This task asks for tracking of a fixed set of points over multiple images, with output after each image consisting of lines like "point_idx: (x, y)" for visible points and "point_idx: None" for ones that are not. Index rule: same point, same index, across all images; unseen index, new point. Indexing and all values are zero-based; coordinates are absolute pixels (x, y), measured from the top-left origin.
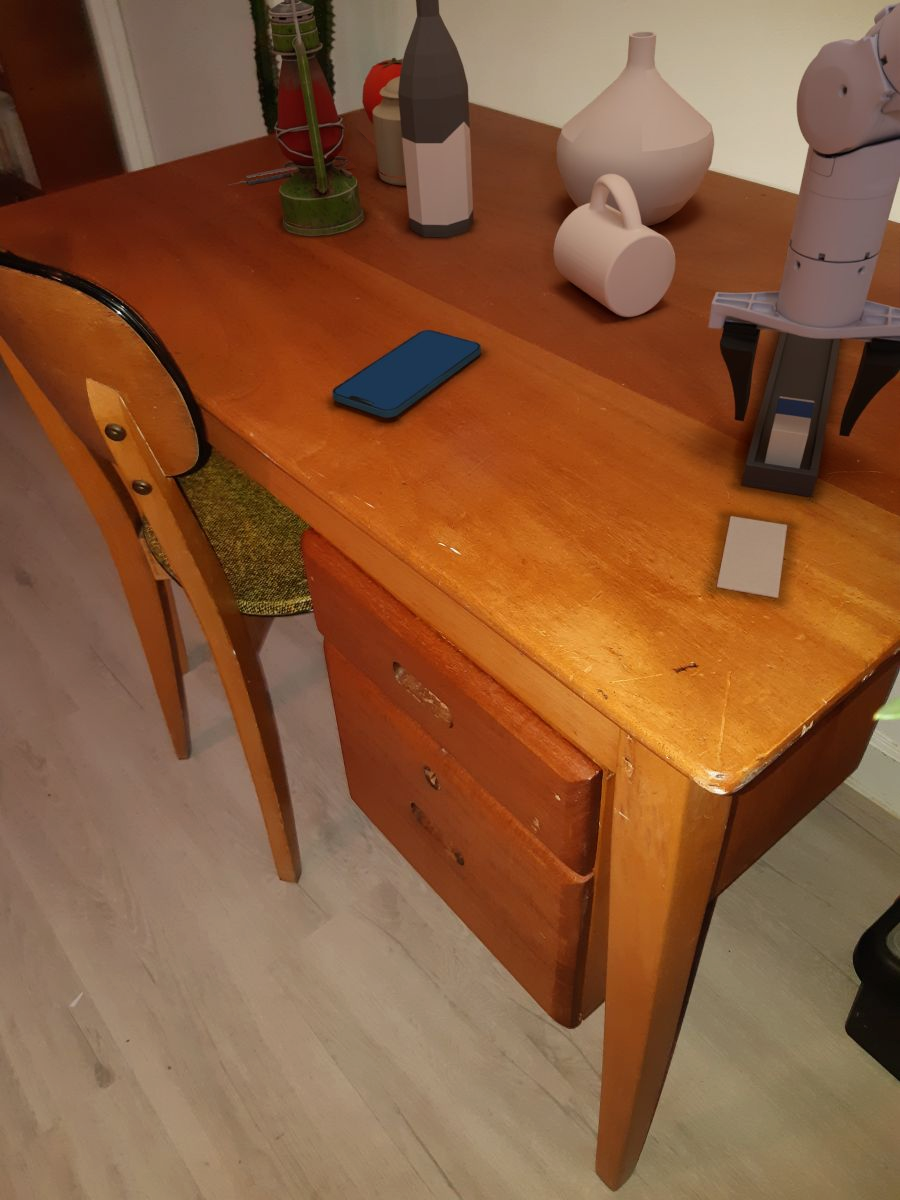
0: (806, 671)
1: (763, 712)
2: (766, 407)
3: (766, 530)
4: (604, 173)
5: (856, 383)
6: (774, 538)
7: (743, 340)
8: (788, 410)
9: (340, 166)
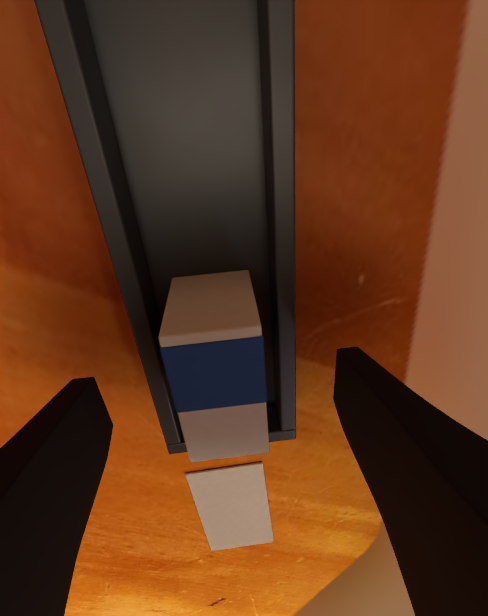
0: (309, 577)
1: (282, 604)
2: (126, 254)
3: (238, 480)
4: None
5: (404, 526)
6: (251, 487)
7: None
8: (203, 395)
9: None
